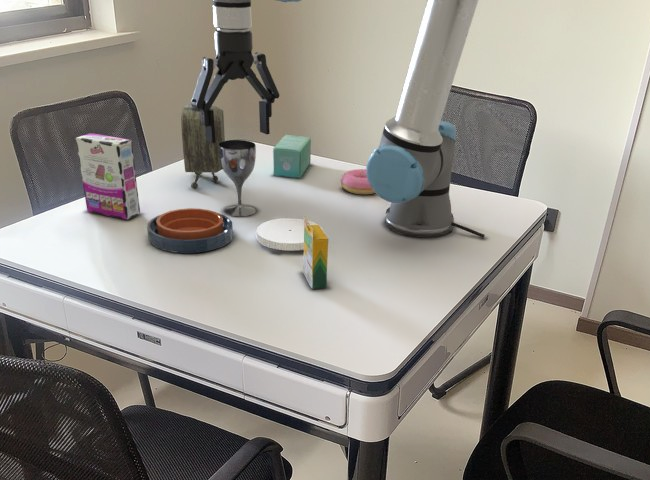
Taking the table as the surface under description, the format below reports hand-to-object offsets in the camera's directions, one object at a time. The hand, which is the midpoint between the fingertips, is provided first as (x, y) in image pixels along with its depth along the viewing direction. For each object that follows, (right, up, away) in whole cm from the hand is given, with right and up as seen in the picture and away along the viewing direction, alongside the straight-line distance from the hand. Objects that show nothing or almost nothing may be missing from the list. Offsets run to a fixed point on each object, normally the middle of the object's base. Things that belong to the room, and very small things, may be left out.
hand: (238, 137), depth 157 cm
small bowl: (-9, -23, -5) cm, 25 cm away
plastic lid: (+12, -24, -5) cm, 27 cm away
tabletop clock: (-12, -3, +25) cm, 28 cm away
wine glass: (-1, -14, +9) cm, 17 cm away
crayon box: (+18, -34, -20) cm, 43 cm away
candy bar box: (-28, -16, +5) cm, 33 cm away
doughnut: (+27, -5, +26) cm, 38 cm away
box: (+8, +3, +37) cm, 38 cm away
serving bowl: (-9, -23, -5) cm, 25 cm away
